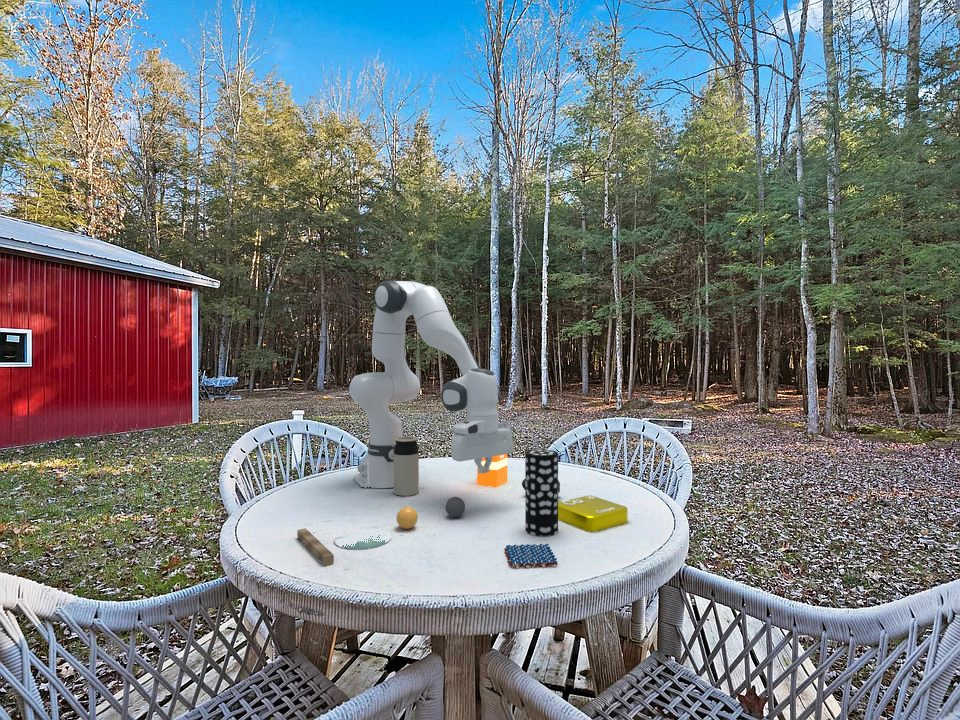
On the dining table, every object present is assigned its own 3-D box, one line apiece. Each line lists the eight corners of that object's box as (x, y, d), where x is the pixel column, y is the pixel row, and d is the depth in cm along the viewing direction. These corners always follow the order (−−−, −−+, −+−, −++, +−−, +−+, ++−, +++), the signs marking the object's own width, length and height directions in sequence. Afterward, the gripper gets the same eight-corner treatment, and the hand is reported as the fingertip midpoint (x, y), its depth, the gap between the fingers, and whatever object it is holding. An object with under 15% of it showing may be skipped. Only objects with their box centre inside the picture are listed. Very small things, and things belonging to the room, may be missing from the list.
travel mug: (416, 496, 156) (416, 440, 156) (391, 496, 156) (391, 440, 156) (420, 489, 164) (420, 436, 164) (396, 489, 164) (396, 436, 164)
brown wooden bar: (297, 538, 121) (297, 530, 121) (305, 536, 122) (305, 528, 122) (324, 566, 105) (324, 556, 105) (333, 563, 106) (333, 554, 106)
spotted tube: (536, 522, 132) (536, 448, 132) (564, 529, 127) (564, 452, 126) (519, 531, 126) (518, 453, 125) (547, 539, 120) (547, 457, 120)
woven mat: (503, 552, 114) (503, 543, 114) (548, 550, 115) (548, 542, 115) (508, 572, 103) (508, 562, 103) (558, 570, 104) (558, 561, 104)
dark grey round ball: (441, 516, 137) (441, 496, 137) (458, 512, 141) (458, 493, 141) (452, 521, 133) (452, 501, 133) (469, 517, 136) (469, 497, 136)
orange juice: (476, 484, 170) (476, 427, 170) (488, 479, 178) (488, 424, 178) (497, 487, 167) (497, 428, 166) (507, 481, 174) (507, 425, 174)
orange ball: (392, 527, 129) (392, 506, 128) (411, 523, 132) (411, 502, 132) (402, 533, 124) (402, 511, 124) (421, 529, 127) (421, 507, 127)
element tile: (591, 535, 124) (591, 516, 124) (551, 518, 137) (551, 501, 137) (630, 523, 132) (630, 505, 132) (589, 509, 145) (589, 492, 145)
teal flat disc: (325, 536, 122) (325, 535, 122) (377, 524, 131) (377, 523, 131) (346, 554, 111) (346, 553, 111) (402, 540, 119) (402, 539, 119)
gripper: (504, 420, 151) (504, 466, 151) (447, 426, 139) (448, 476, 139) (517, 422, 146) (518, 469, 145) (460, 429, 133) (460, 480, 133)
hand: (483, 472), depth 142 cm, fingers closed
